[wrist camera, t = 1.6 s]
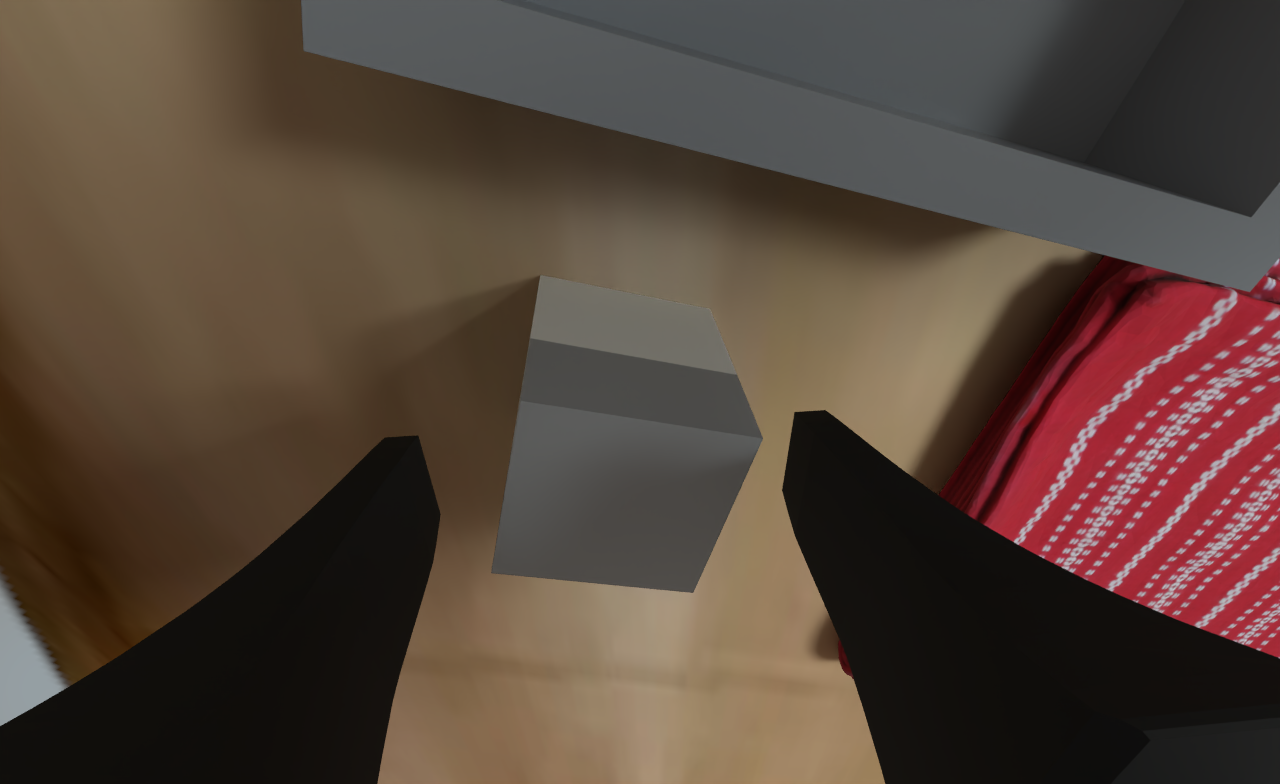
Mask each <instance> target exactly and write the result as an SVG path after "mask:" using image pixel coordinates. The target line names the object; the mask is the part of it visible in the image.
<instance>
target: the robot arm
mask: <svg viewBox="0 0 1280 784" xmlns="http://www.w3.org/2000/svg"><path fill="white" fill-rule="evenodd" d="M782 491H783V495H784V499H785V502H786V506H787V510H788V514H789V517H790V520H791V524H792V527H793V531H794V534H795V537H796V539H797V542H798V544H799V546H800V549H801V551H802V554H803V556H804V558H805V561H806V563H807V565H808V568H809V570H810V572H811V575H812V577H813V579H814V581H815V584H816V586H817V588H818V591H819V593H820V595H821V597H822V600H823V602H824V604H825V607H826V609H827V611H828V613H829V616H830V618H831V620H832V623H833V625H834V627H835V630H836V632H837V634H838V636H839V639H840V642H841V644H842V647H843V649H844V652H845V654H846V657H847V660H848V663H849V666H850V669H851V672H852V675H853V678H854V681H855V684H856V687H857V691H858V694H859V697H860V700H861V703H862V706H863V709H864V712H865V716H866V719H867V722H868V726H869V729H870V732H871V736H872V739H873V743H874V746H875V749H876V753H877V756H878V759H879V763H880V766H881V769H882V773H883V777H884V780H885V784H1280V658H1278V657H1275V656H1273V655H1270V654H1267V653H1265V652H1262V651H1259V650H1257V649H1254V648H1251V647H1249V646H1246V645H1243V644H1241V643H1238V642H1235V641H1233V640H1230V639H1227V638H1225V637H1222V636H1219V635H1217V634H1214V633H1211V632H1209V631H1206V630H1203V629H1201V628H1198V627H1195V626H1193V625H1190V624H1187V623H1185V622H1182V621H1180V620H1177V619H1175V618H1172V617H1170V616H1167V615H1165V614H1163V613H1160V612H1158V611H1156V610H1153V609H1151V608H1149V607H1146V606H1144V605H1142V604H1139V603H1137V602H1135V601H1132V600H1130V599H1128V598H1125V597H1123V596H1121V595H1118V594H1116V593H1114V592H1112V591H1110V590H1108V589H1105V588H1103V587H1101V586H1099V585H1097V584H1094V583H1092V582H1090V581H1088V580H1086V579H1084V578H1082V577H1080V576H1078V575H1076V574H1074V573H1072V572H1070V571H1068V570H1066V569H1064V568H1062V567H1060V566H1058V565H1056V564H1054V563H1052V562H1050V561H1048V560H1046V559H1044V558H1042V557H1040V556H1038V555H1036V554H1034V553H1033V552H1031V551H1029V550H1027V549H1025V548H1023V547H1021V546H1020V545H1018V544H1016V543H1014V542H1013V541H1011V540H1009V539H1007V538H1006V537H1004V536H1002V535H1001V534H999V533H997V532H995V531H994V530H992V529H990V528H989V527H987V526H985V525H983V524H982V523H980V522H978V521H977V520H975V519H974V518H972V517H970V516H969V515H967V514H966V513H964V512H962V511H961V510H959V509H958V508H956V507H955V506H953V505H952V504H950V503H949V502H947V501H946V500H945V499H943V498H942V497H940V496H939V495H937V494H936V493H934V492H933V491H931V490H930V489H928V488H927V487H925V486H924V485H923V484H921V483H920V482H918V481H917V480H916V479H914V478H913V477H912V476H910V475H909V474H907V473H906V472H905V471H903V470H902V469H901V468H899V467H898V466H897V465H895V464H894V463H893V462H891V461H890V460H889V459H888V458H886V457H885V456H884V455H882V454H881V453H880V452H878V451H877V450H876V449H875V448H873V447H872V446H871V445H870V444H868V443H867V442H866V441H865V440H863V439H862V438H861V437H859V436H858V435H857V434H856V433H854V432H853V431H852V430H851V429H849V428H848V427H847V426H846V425H844V424H843V423H842V422H840V421H839V420H838V419H837V418H835V417H834V416H833V415H831V414H830V413H828V412H827V411H826V410H821V411H805V412H795V413H794V419H793V426H792V432H791V438H790V445H789V451H788V457H787V463H786V470H785V476H784V482H783V489H782ZM439 521H440V511H439V507H438V504H437V500H436V497H435V493H434V490H433V486H432V483H431V479H430V476H429V472H428V469H427V465H426V462H425V458H424V455H423V451H422V447H421V444H420V440H419V437H418V436H403V437H387V438H384V439H383V440H382V441H381V442H380V443H379V444H378V445H377V446H375V447H374V448H373V449H372V450H371V451H370V452H369V453H368V454H367V455H366V456H365V457H364V458H363V459H362V460H361V461H360V462H359V463H358V464H357V465H356V466H355V467H354V468H353V469H352V470H351V471H350V472H349V473H348V474H347V475H346V476H345V477H344V478H343V479H342V480H341V481H340V482H339V483H338V484H337V485H336V486H335V487H334V488H333V489H332V490H330V491H329V492H328V493H327V494H326V495H325V496H324V497H323V498H322V499H321V500H320V501H319V502H318V503H317V504H316V505H315V506H314V507H313V508H312V509H311V510H310V511H309V512H307V513H306V514H305V515H304V516H303V517H302V518H301V519H300V520H298V521H297V522H296V523H295V524H294V525H293V526H292V527H291V528H289V529H288V530H287V531H286V532H285V533H284V534H283V535H281V536H280V537H279V538H278V539H277V540H276V541H275V542H273V543H272V544H271V545H270V546H269V547H268V548H267V549H266V550H264V551H263V552H262V553H261V554H260V555H259V556H257V557H256V558H255V559H254V560H253V561H251V562H250V563H249V564H248V565H246V566H245V567H244V568H243V569H241V570H240V571H239V572H238V573H236V574H235V575H234V576H233V577H231V578H230V579H229V580H227V581H226V582H225V583H223V584H222V585H221V586H219V587H218V588H217V589H215V590H214V591H213V592H211V593H210V594H209V595H207V596H206V597H205V598H203V599H202V600H201V601H199V602H198V603H197V604H195V605H194V606H193V607H191V608H190V609H188V610H187V611H186V612H184V613H183V614H181V615H180V616H178V617H177V618H175V619H174V620H172V621H171V622H169V623H168V624H166V625H165V626H163V627H162V628H160V629H159V630H157V631H156V632H154V633H153V634H151V635H150V636H148V637H147V638H145V639H144V640H142V641H141V642H139V643H138V644H136V645H135V646H133V647H132V648H131V649H129V650H128V651H126V652H125V653H123V654H122V655H120V656H118V657H117V658H115V659H114V660H112V661H111V662H109V663H107V664H106V665H104V666H102V667H101V668H99V669H97V670H96V671H94V672H93V673H91V674H89V675H88V676H86V677H84V678H83V679H81V680H80V681H78V682H76V683H75V684H73V685H71V686H70V687H68V688H66V689H64V690H63V691H61V692H59V693H58V694H56V695H54V696H52V697H51V698H49V699H48V700H46V701H44V702H43V703H41V704H39V705H37V706H36V707H34V708H32V709H30V710H28V711H27V712H25V713H23V714H21V715H19V716H18V717H16V718H14V719H12V720H11V721H9V722H7V723H5V724H4V725H2V726H0V784H377V782H378V776H379V771H380V765H381V759H382V754H383V749H384V743H385V738H386V733H387V728H388V723H389V718H390V713H391V707H392V702H393V698H394V694H395V690H396V686H397V683H398V679H399V675H400V671H401V668H402V665H403V661H404V658H405V655H406V652H407V648H408V645H409V642H410V638H411V635H412V632H413V628H414V625H415V622H416V618H417V615H418V612H419V609H420V605H421V602H422V599H423V595H424V592H425V588H426V585H427V581H428V578H429V575H430V571H431V568H432V564H433V559H434V553H435V547H436V542H437V535H438V528H439Z"/></svg>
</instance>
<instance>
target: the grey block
mask: <svg viewBox="0 0 1280 784" xmlns="http://www.w3.org/2000/svg"><path fill="white" fill-rule="evenodd" d="M762 440H763V437H762V435H761V432H760V430H759V428H758V425H757V423H756V420H755V418H754V415H753V413H752V410H751V408H750V405H749V403H748V401H747V398H746V396H745V393H744V391H743V388H742V386H741V383H740V381H739V379H738V376H737V374H736V371H735V369H734V366H733V364H732V361H731V359H730V356H729V354H728V352H727V349H726V347H725V344H724V342H723V339H722V337H721V334H720V332H719V330H718V327H717V325H716V322H715V320H714V317H713V315H712V312H711V310H710V309H709V308H704V307H699V306H694V305H689V304H684V303H679V302H674V301H669V300H664V299H659V298H654V297H649V296H644V295H639V294H634V293H629V292H624V291H619V290H614V289H609V288H604V287H599V286H594V285H589V284H584V283H579V282H574V281H569V280H564V279H559V278H554V277H549V276H544V275H540V280H539V286H538V292H537V298H536V304H535V310H534V316H533V322H532V328H531V334H530V340H529V346H528V352H527V358H526V364H525V370H524V376H523V382H522V388H521V394H520V400H519V406H518V412H517V418H516V424H515V430H514V436H513V443H512V449H511V455H510V461H509V467H508V473H507V479H506V486H505V492H504V498H503V504H502V510H501V516H500V522H499V529H498V535H497V541H496V547H495V553H494V559H493V566H492V572H491V573H496V574H506V575H516V576H526V577H537V578H547V579H557V580H567V581H578V582H588V583H598V584H608V585H619V586H629V587H639V588H649V589H660V590H670V591H680V592H690V593H693V592H694V590H695V588H696V585H697V583H698V581H699V579H700V577H701V574H702V572H703V570H704V568H705V566H706V563H707V561H708V559H709V557H710V555H711V552H712V550H713V548H714V546H715V543H716V541H717V539H718V537H719V535H720V532H721V530H722V528H723V526H724V524H725V521H726V519H727V517H728V515H729V513H730V510H731V508H732V506H733V504H734V502H735V499H736V497H737V495H738V493H739V490H740V488H741V486H742V484H743V482H744V479H745V477H746V475H747V473H748V471H749V468H750V466H751V464H752V462H753V460H754V457H755V455H756V453H757V451H758V448H759V446H760V444H761V442H762Z"/></svg>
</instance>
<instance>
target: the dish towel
mask: <svg viewBox="0 0 1280 784" xmlns="http://www.w3.org/2000/svg"><path fill="white" fill-rule="evenodd" d="M939 496H940V497H942V498H943V499H945V500H946V501H947V502H949V503H950V504H952V505H953V506H955V507H956V508H958V509H959V510H961V511H962V512H964V513H966V514H967V515H969V516H970V517H972V518H974V519H975V520H977V521H978V522H980V523H982V524H983V525H985V526H987V527H989V528H990V529H992V530H994V531H995V532H997V533H999V534H1001V535H1002V536H1004V537H1006V538H1007V539H1009V540H1011V541H1013V542H1014V543H1016V544H1018V545H1020V546H1021V547H1023V548H1025V549H1027V550H1029V551H1031V552H1033V553H1034V554H1036V555H1038V556H1040V557H1042V558H1044V559H1046V560H1048V561H1050V562H1052V563H1054V564H1056V565H1058V566H1060V567H1062V568H1064V569H1066V570H1068V571H1070V572H1072V573H1074V574H1076V575H1078V576H1080V577H1082V578H1084V579H1086V580H1088V581H1090V582H1092V583H1094V584H1097V585H1099V586H1101V587H1103V588H1105V589H1108V590H1110V591H1112V592H1114V593H1116V594H1118V595H1121V596H1123V597H1125V598H1128V599H1130V600H1132V601H1135V602H1137V603H1139V604H1142V605H1144V606H1146V607H1149V608H1151V609H1153V610H1156V611H1158V612H1160V613H1163V614H1165V615H1167V616H1170V617H1172V618H1175V619H1177V620H1180V621H1182V622H1185V623H1187V624H1190V625H1193V626H1195V627H1198V628H1201V629H1203V630H1206V631H1209V632H1211V633H1214V634H1217V635H1219V636H1222V637H1225V638H1227V639H1230V640H1233V641H1235V642H1238V643H1241V644H1243V645H1246V646H1249V647H1251V648H1254V649H1257V650H1259V651H1262V652H1265V653H1267V654H1270V655H1273V656H1275V657H1278V658H1280V258H1279V259H1278V260H1277V261H1276V262H1275V264H1274V265H1273V266H1272V267H1271V268H1270V269H1269V270H1268V272H1267V273H1266V274H1265V275H1264V276H1263V277H1262V279H1261V280H1260V281H1259V282H1258V283H1257V284H1256V285H1255V287H1254V288H1253V289H1252V290H1251V291H1250V292H1247V291H1244V290H1240V289H1236V288H1232V287H1228V286H1224V285H1220V284H1216V283H1212V282H1208V281H1204V280H1200V279H1196V278H1193V277H1189V276H1185V275H1181V274H1177V273H1173V272H1169V271H1165V270H1161V269H1157V268H1153V267H1149V266H1145V265H1142V264H1138V263H1134V262H1130V261H1126V260H1122V259H1118V258H1114V257H1110V256H1106V255H1104V257H1103V258H1102V260H1101V261H1100V262H1099V263H1098V265H1097V266H1096V267H1095V268H1094V270H1093V271H1092V272H1091V273H1090V274H1089V276H1088V277H1087V278H1086V280H1085V281H1084V282H1083V284H1082V285H1081V286H1080V287H1079V289H1078V290H1077V292H1076V293H1075V295H1074V296H1073V297H1072V299H1071V300H1070V301H1069V303H1068V304H1067V306H1066V307H1065V308H1064V310H1063V311H1062V313H1061V314H1060V315H1059V317H1058V318H1057V320H1056V321H1055V323H1054V324H1053V326H1052V328H1051V329H1050V331H1049V332H1048V334H1047V335H1046V336H1045V338H1044V339H1043V341H1042V342H1041V344H1040V345H1039V346H1038V348H1037V349H1036V351H1035V352H1034V354H1033V355H1032V357H1031V358H1030V360H1029V361H1028V363H1027V364H1026V366H1025V368H1024V369H1023V371H1022V372H1021V374H1020V375H1019V377H1018V378H1017V380H1016V381H1015V383H1014V384H1013V386H1012V387H1011V389H1010V390H1009V392H1008V394H1007V395H1006V397H1005V398H1004V399H1003V401H1002V402H1001V403H1000V405H999V406H998V407H997V409H996V410H995V411H994V413H993V414H992V416H991V418H990V419H989V421H988V423H987V424H986V426H985V427H984V429H983V430H982V431H981V433H980V434H979V436H978V437H977V438H976V440H975V441H974V443H973V444H972V446H971V447H970V449H969V451H968V452H967V454H966V455H965V457H964V458H963V460H962V461H961V463H960V464H959V466H958V467H957V469H956V470H955V472H954V473H953V475H952V476H951V478H950V479H949V481H948V482H947V484H946V485H945V486H944V488H943V489H942V491H941V492H940V494H939ZM838 653H839V660H840V664H841V667H842V669H843V671H844V672H845V673H846V674H847V675H849V676H851V677H852V679H854V678H853V675H852V672H851V669H850V666H849V663H848V660H847V657H846V654H845V652H844V649H843V647H842V644H841V642H840V640H839V643H838Z"/></svg>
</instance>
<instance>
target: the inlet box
mask: <svg viewBox="0 0 1280 784" xmlns="http://www.w3.org/2000/svg"><path fill="white" fill-rule="evenodd" d="M301 9H302V29H303V49H304V51H306V52H310V53H314V54H318V55H321V56H325V57H329V58H333V59H337V60H341V61H345V62H349V63H353V64H357V65H361V66H365V67H369V68H372V69H376V70H380V71H384V72H388V73H392V74H396V75H400V76H404V77H408V78H412V79H416V80H420V81H423V82H427V83H431V84H435V85H439V86H443V87H447V88H451V89H455V90H459V91H463V92H467V93H471V94H475V95H478V96H482V97H486V98H490V99H494V100H498V101H502V102H506V103H510V104H514V105H518V106H522V107H526V108H529V109H533V110H537V111H541V112H545V113H549V114H553V115H557V116H561V117H565V118H569V119H573V120H577V121H580V122H584V123H588V124H592V125H596V126H600V127H604V128H608V129H612V130H616V131H620V132H624V133H628V134H631V135H635V136H639V137H643V138H647V139H651V140H655V141H659V142H663V143H667V144H671V145H675V146H679V147H682V148H686V149H690V150H694V151H698V152H702V153H706V154H710V155H714V156H718V157H722V158H726V159H730V160H733V161H737V162H741V163H745V164H749V165H753V166H757V167H761V168H765V169H769V170H773V171H777V172H781V173H784V174H788V175H792V176H796V177H800V178H804V179H808V180H812V181H816V182H820V183H824V184H828V185H832V186H835V187H839V188H843V189H847V190H851V191H855V192H859V193H863V194H867V195H871V196H875V197H879V198H883V199H886V200H890V201H894V202H898V203H902V204H906V205H910V206H914V207H918V208H922V209H926V210H930V211H934V212H937V213H941V214H945V215H949V216H953V217H957V218H961V219H965V220H969V221H973V222H977V223H981V224H985V225H988V226H992V227H996V228H1000V229H1004V230H1008V231H1012V232H1016V233H1020V234H1024V235H1028V236H1032V237H1036V238H1040V239H1043V240H1047V241H1051V242H1055V243H1059V244H1063V245H1067V246H1071V247H1075V248H1079V249H1083V250H1087V251H1091V252H1094V253H1098V254H1102V255H1106V256H1110V257H1114V258H1118V259H1122V260H1126V261H1130V262H1134V263H1138V264H1142V265H1145V266H1149V267H1153V268H1157V269H1161V270H1165V271H1169V272H1173V273H1177V274H1181V275H1185V276H1189V277H1193V278H1196V279H1200V280H1204V281H1208V282H1212V283H1216V284H1220V285H1224V286H1228V287H1232V288H1236V289H1240V290H1244V291H1247V292H1250V291H1251V290H1252V289H1253V288H1254V287H1255V285H1256V284H1257V283H1258V282H1259V281H1260V280H1261V279H1262V277H1263V276H1264V275H1265V274H1266V273H1267V272H1268V270H1269V269H1270V268H1271V267H1272V266H1273V265H1274V264H1275V262H1276V261H1277V260H1278V259H1279V258H1280V0H301Z"/></svg>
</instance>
